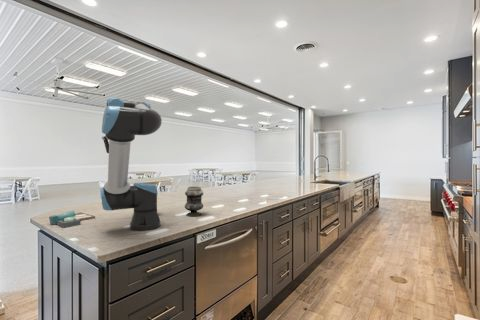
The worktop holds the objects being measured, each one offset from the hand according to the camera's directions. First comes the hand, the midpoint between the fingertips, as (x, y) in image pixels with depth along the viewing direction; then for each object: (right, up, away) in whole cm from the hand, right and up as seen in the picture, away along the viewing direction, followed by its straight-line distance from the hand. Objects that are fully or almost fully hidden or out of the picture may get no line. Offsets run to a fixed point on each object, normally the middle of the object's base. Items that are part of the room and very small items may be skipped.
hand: (113, 165), depth 145 cm
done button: (-19, -32, -11) cm, 38 cm away
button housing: (-19, -32, -11) cm, 39 cm away
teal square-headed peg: (-23, -29, -1) cm, 37 cm away
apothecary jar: (+45, -33, +14) cm, 57 cm away
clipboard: (-27, -32, +4) cm, 42 cm away
